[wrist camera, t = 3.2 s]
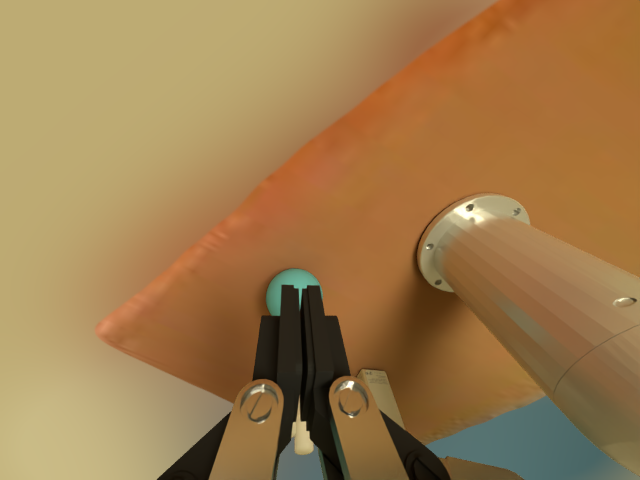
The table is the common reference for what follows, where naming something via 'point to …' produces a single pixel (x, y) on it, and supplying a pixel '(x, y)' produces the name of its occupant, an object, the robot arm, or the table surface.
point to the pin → (302, 436)
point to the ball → (287, 278)
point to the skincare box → (381, 393)
